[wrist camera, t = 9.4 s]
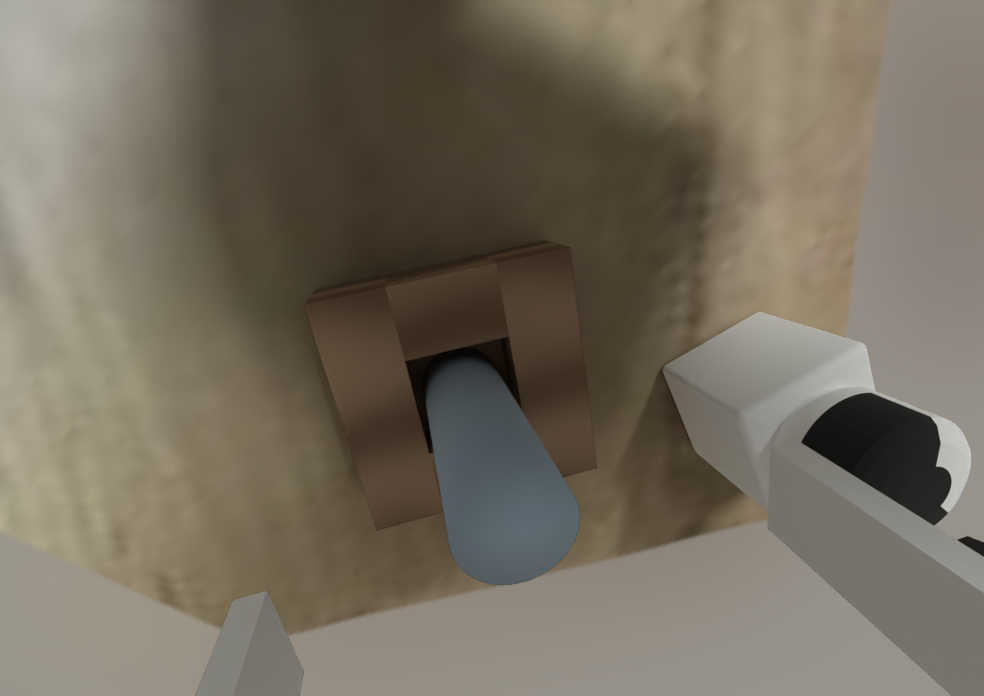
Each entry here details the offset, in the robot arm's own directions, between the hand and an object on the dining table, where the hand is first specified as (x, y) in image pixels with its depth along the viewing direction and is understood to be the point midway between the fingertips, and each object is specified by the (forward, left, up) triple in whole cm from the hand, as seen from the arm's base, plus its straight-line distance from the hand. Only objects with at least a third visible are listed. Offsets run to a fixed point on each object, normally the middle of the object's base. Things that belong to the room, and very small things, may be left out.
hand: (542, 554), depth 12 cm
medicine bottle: (+6, +16, -15) cm, 23 cm away
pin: (+1, 0, -14) cm, 14 cm away
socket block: (0, 0, -15) cm, 15 cm away
